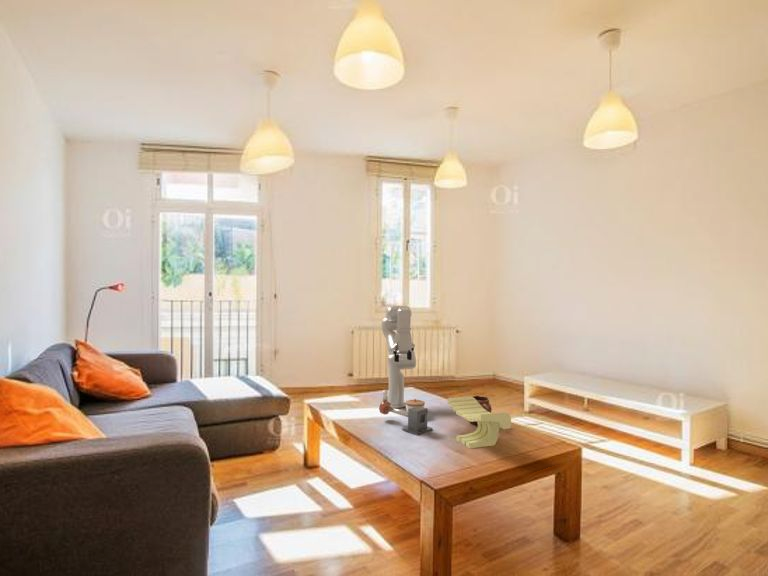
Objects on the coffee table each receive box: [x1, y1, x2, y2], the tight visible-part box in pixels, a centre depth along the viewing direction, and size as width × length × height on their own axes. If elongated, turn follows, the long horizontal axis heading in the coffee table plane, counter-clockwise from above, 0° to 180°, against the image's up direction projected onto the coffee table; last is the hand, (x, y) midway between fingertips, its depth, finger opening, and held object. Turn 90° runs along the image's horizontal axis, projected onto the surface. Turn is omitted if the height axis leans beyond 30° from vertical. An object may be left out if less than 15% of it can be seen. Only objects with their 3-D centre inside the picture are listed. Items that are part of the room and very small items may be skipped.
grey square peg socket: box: [402, 406, 434, 436], centre depth 229 cm, size 10×12×11 cm
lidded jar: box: [405, 398, 426, 412], centre depth 255 cm, size 11×11×9 cm
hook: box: [378, 389, 408, 418], centre depth 240 cm, size 20×7×13 cm, turn 44°
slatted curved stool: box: [447, 395, 512, 449], centre depth 214 cm, size 30×16×18 cm, turn 20°
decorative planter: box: [468, 395, 493, 426], centre depth 242 cm, size 20×12×14 cm, turn 20°
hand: (403, 360), depth 254 cm, fingers open, 9 cm apart
